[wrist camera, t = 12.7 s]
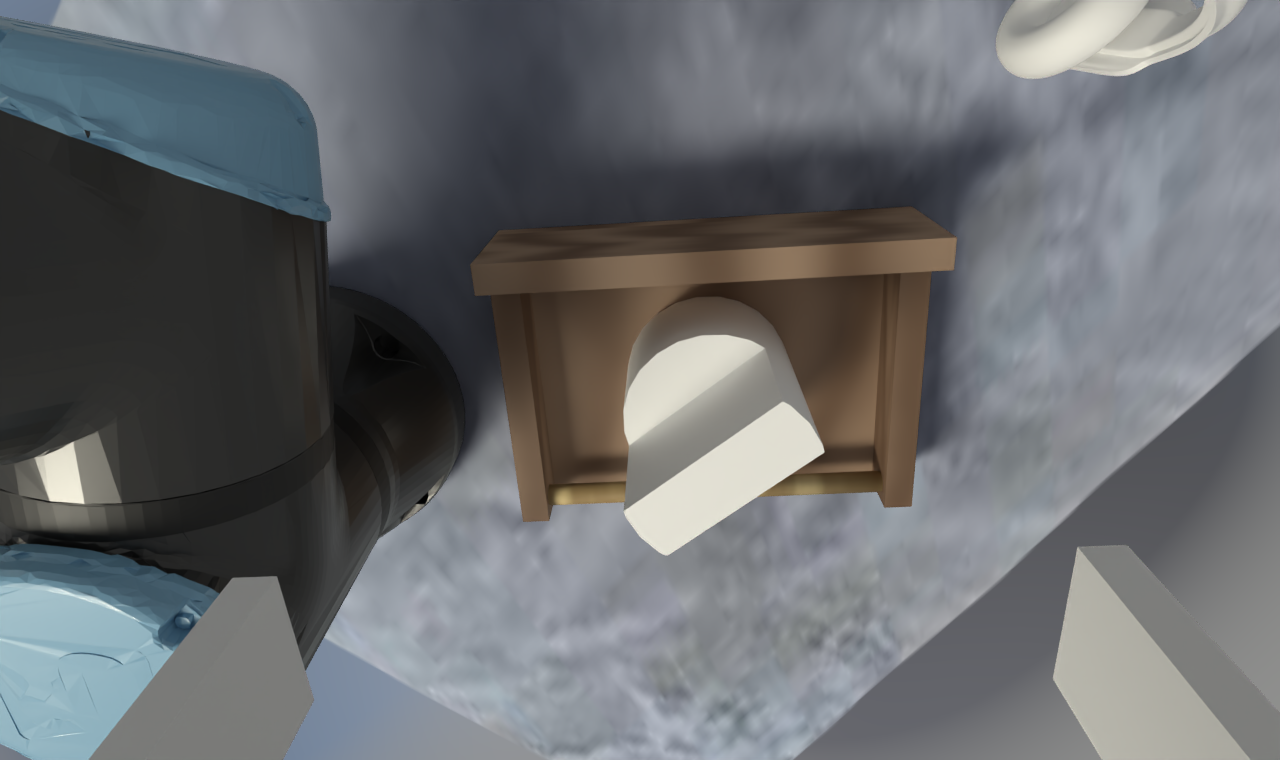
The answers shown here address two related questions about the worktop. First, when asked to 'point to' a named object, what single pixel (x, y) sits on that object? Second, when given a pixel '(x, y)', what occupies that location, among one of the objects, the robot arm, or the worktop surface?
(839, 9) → the worktop surface
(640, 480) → the cylinder with rectangular tab
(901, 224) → the caddy
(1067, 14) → the headset
